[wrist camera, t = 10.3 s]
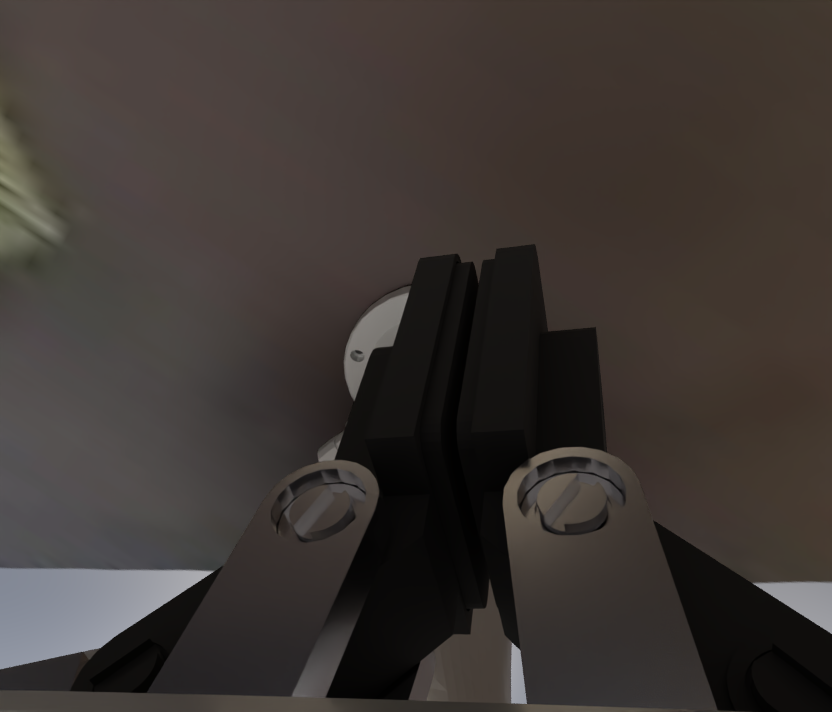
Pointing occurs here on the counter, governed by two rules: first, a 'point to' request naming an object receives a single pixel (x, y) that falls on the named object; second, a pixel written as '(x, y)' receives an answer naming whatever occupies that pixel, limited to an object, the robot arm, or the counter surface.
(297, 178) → the counter surface
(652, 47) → the counter surface
